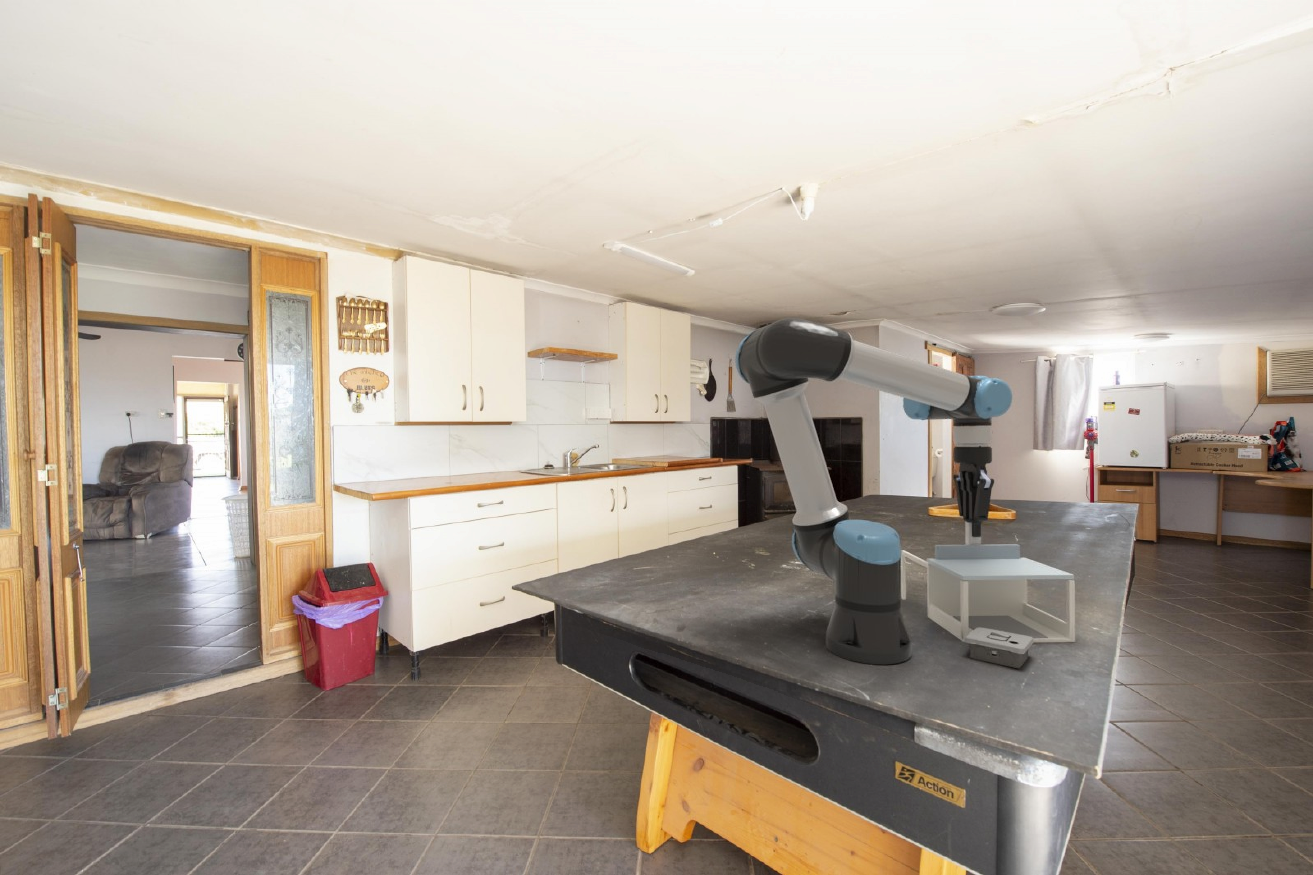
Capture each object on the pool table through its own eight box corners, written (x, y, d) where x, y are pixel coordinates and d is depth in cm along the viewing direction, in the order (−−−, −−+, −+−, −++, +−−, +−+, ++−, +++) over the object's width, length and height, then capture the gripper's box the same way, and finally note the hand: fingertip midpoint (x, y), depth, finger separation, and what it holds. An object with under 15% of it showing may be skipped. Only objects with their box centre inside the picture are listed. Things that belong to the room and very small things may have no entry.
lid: (962, 580, 111) (962, 560, 111) (926, 562, 127) (926, 545, 127) (1074, 579, 111) (1073, 559, 111) (1024, 561, 126) (1024, 544, 126)
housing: (963, 642, 111) (963, 581, 111) (901, 598, 141) (901, 550, 140) (1075, 642, 111) (1074, 580, 111) (989, 598, 140) (989, 549, 140)
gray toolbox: (1025, 650, 97) (966, 628, 103) (1018, 679, 98) (960, 655, 104) (1036, 637, 104) (980, 618, 110) (1030, 664, 104) (974, 643, 111)
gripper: (1006, 446, 121) (1007, 557, 121) (973, 444, 134) (974, 544, 134) (970, 446, 121) (971, 557, 121) (941, 445, 134) (942, 545, 134)
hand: (973, 550), depth 128 cm, fingers closed
